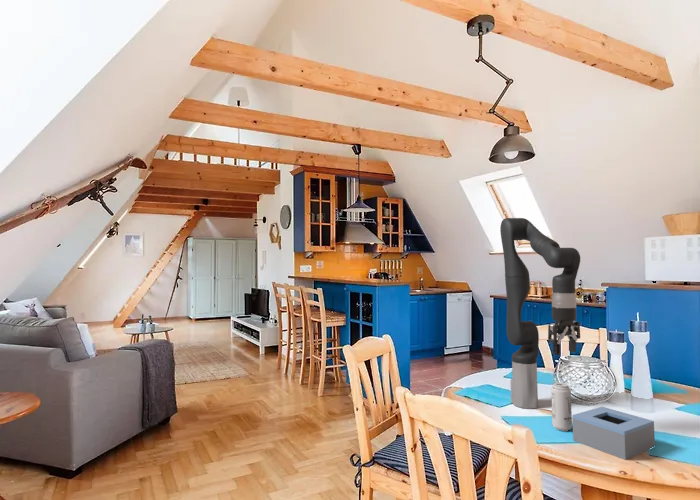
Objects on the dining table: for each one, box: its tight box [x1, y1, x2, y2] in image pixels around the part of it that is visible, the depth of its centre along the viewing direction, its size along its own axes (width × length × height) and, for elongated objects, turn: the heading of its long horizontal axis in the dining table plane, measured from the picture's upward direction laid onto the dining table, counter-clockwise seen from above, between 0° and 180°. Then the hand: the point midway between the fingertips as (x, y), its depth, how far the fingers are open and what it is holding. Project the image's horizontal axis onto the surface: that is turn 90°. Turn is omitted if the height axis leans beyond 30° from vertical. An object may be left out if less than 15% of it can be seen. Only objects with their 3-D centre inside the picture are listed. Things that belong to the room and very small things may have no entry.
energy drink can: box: [550, 382, 573, 432], centre depth 148 cm, size 6×6×15 cm
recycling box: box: [572, 406, 656, 461], centre depth 135 cm, size 16×16×8 cm
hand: (564, 353), depth 148 cm, fingers open, 8 cm apart
